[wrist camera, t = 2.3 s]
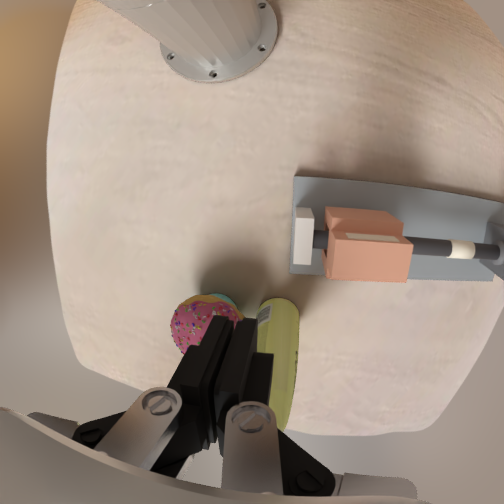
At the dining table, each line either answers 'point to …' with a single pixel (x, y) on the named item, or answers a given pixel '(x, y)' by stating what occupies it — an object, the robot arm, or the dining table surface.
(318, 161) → the dining table surface
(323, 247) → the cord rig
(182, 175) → the dining table surface
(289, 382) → the tube
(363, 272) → the sleeve
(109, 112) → the dining table surface
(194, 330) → the cupcake
